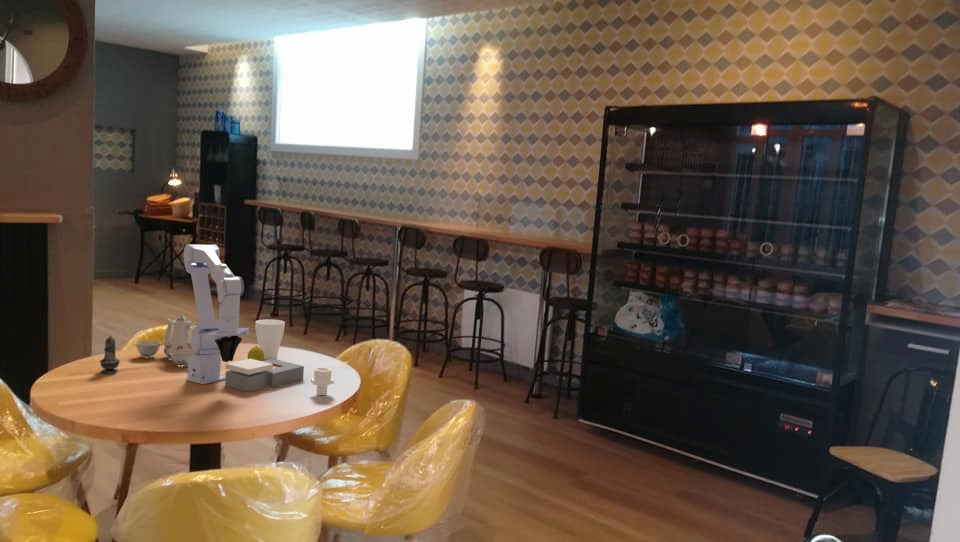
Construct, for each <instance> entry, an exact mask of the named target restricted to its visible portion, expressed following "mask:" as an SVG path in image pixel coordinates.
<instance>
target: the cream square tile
mask: <svg viewBox="0 0 960 542" xmlns="http://www.w3.org/2000/svg"><path fill="white" fill-rule="evenodd" d="M225 369H226V370H227V371H229V370H232V371H236V372H240V373H244V374H248V375H250V374H254V373H258V372H262V371H267V370H271V369H273V364H271V363H266V362H262V361H258V360H254V359H247V358H246V359H243V360H237V361H231V362H226V364H225Z"/></svg>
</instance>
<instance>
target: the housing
mask: <svg viewBox="0 0 960 542" xmlns="http://www.w3.org/2000/svg"><path fill="white" fill-rule="evenodd" d="M262 362H266V363H271V364H273V366H277V367H278V368H274V369H271V370H267V371H262V372H258V373H254V374H250V375H248V374H244V373H240V372H236V371H232V370H226V371H225V376H224V377H225V379H224V383H225V384H224V385H225V386H226V385H227V387H229V386H231V387H230V388H233V387H234V389H237V390H240V389H241V391H244V392H251V390H252V391H256V390H260V389H262V388H263V389H264V388H267V387H268V388H276V387H280V386H284V385H288V384H290V382H291V383H294V382H299V381H302V379H303V380H304V372H305V371H304V368H305V366H304V365H301V364H296V363H292V362H288V361H285V360H284V361H283V360H279V359H270V360H264V361H262ZM298 380H299V381H298ZM259 388H260V389H259ZM255 389H256V390H255Z"/></svg>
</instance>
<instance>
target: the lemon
mask: <svg viewBox="0 0 960 542" xmlns="http://www.w3.org/2000/svg"><path fill="white" fill-rule="evenodd" d="M246 359H254V360H258V361H265V360H264V352H263V350H262V349H261V348H260V347H259V345H255V346H254V347H251V348H250V349H249V351H248V353H247V358H246Z"/></svg>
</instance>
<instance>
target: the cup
mask: <svg viewBox="0 0 960 542" xmlns="http://www.w3.org/2000/svg"><path fill="white" fill-rule="evenodd" d="M285 325H286V321H284V320H280V319H274V318H273V319H271V318H270V319H267V318H266V319H258V320H255V326H254V327H255V334H256V338H257V343H258V344H257V345H258V347H260V348H261V349H262V350H263V352H264V361H265V360H270V359H276V360H278V354H279V350H280V349H279V348H280V347H281V346H280V345H281V342H282V340H283V335H284V333H285V332H284V331H285V327H286V326H285Z"/></svg>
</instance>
